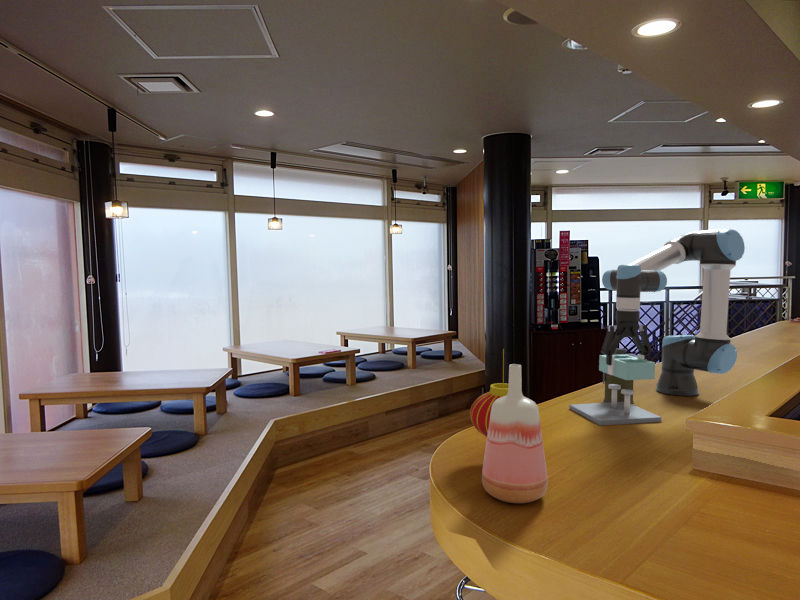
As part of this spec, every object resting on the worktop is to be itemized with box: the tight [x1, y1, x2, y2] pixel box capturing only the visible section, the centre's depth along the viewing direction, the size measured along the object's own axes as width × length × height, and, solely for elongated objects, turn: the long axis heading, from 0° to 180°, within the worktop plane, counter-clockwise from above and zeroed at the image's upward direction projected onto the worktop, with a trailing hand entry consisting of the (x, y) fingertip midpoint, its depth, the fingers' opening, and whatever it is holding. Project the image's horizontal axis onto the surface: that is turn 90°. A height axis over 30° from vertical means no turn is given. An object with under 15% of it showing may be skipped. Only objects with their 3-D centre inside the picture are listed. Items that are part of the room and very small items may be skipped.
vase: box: [481, 363, 548, 504], centre depth 117 cm, size 14×14×30 cm
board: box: [569, 384, 662, 426], centre depth 180 cm, size 22×20×9 cm
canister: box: [602, 347, 635, 405], centre depth 198 cm, size 11×10×20 cm
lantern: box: [469, 348, 509, 438], centre depth 138 cm, size 17×17×30 cm
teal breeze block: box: [598, 354, 656, 381], centre depth 180 cm, size 10×16×6 cm, turn 10°
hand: (625, 374), depth 180 cm, fingers closed on teal breeze block, 10 cm apart
